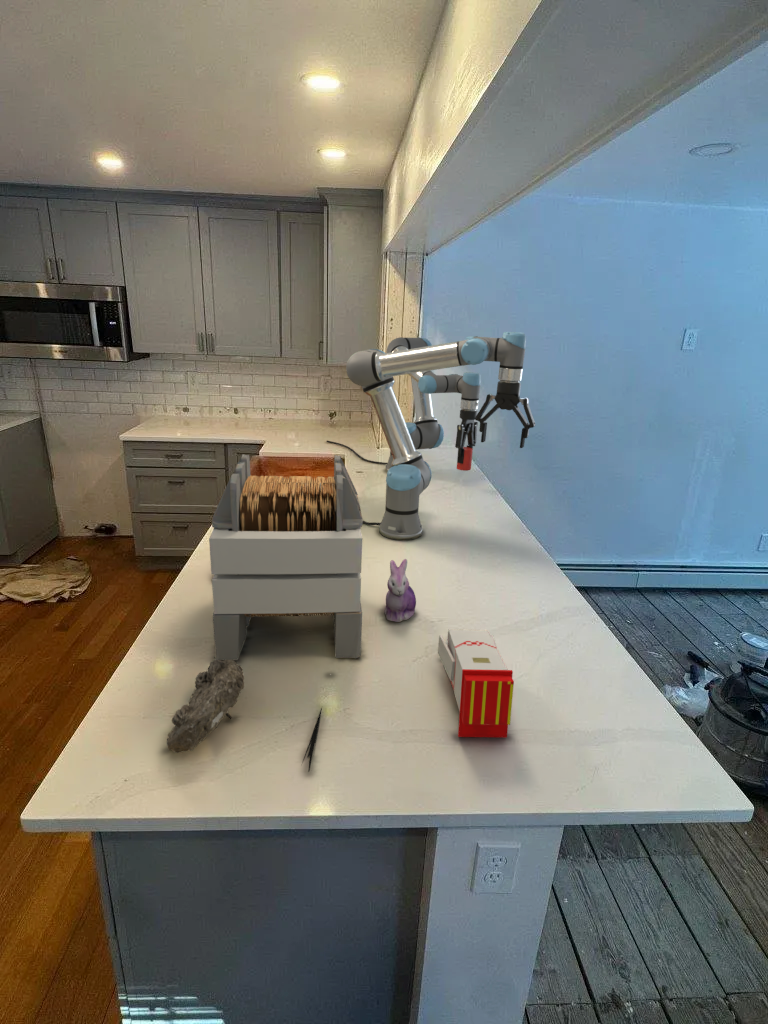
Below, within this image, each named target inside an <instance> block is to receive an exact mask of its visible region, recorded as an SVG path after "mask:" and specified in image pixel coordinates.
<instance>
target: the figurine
mask: <svg viewBox="0 0 768 1024" xmlns="http://www.w3.org/2000/svg"><path fill="white" fill-rule="evenodd" d="M407 567H408V559H406V558H404V559H403V560H402V561H401V563H400V565H399V566H398V565H397V563H396V562H395V561H394V560H393V559H391V560H390V561H389V570H390V576H389V578H388V579H387V589H388V591H387V592H386V594H385V595H386V596H385V607H384V615H385V616H386V620H387V621H391V622H395V623H400V622H402V621H406V620H409V619H410V618H411V617H413V616H414V615H415V610H416V606H417V597H416V593H415V591H414V590H413V587H411V586H410V582H409V579H408V577H407V574H406V571H407Z"/></svg>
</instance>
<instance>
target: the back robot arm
mask: <svg viewBox="0 0 768 1024" xmlns="http://www.w3.org/2000/svg"><path fill="white" fill-rule="evenodd" d="M427 346H433V344H432V342H431V341H430V340H429V339H428V338H425V337H420V336H419V337H396V338H394V339H392V340H391V341H390V342H389V343H388V345H387V347H386V353H390V352H396V351H403V350H409V349H415V348H421V347H427ZM407 375H408V376H410V382H411V389H412V397H413V404H414V412H415V420H414V421H413V422H411V421H410V422H409V421H408V422H406V421H405V423H406V426H407V429H408V431H409V434H410V437H411V439H412V442H413V445H414V448H415V450H416V451H418V450H427V449H428V450H431V449H436V448H438V447H440V446H441V445H442V443H443V441H444V437H445V431H444V427H443V426H442V424H440V423H438V419H437V418H436V417H435V416H434V409H433V408H434V407H433V402H432V394H453V393H456V394H461V397H460V405H459V406H460V410H459V419H461V421H460V424H456V425H457V426H456V438H455V444H454V445H455V448H456V449H457V458H456V464H457V463H462V464H463V460H464V449H463V448H464V447H465V444H466V440H467V445H466V447H469V448H472V449H473V450H474V447H476V444H477V437H478V434H477V433H478V424H479V421H476V420H475V417H476V416H477V414H478V413H479V411H478V409H479V404H480V401H479V400H480V393H481V383H482V382H481V378H482V376H481V374H480V373H479V372H471V371H468V372H463V375H460V374H457V373H450V374H447V375H446V374H436V373H434V372H433V370H431V371H424V372H418V373H411V374H407ZM326 443H328V444H329V443H330V444H334V445H337V446H341V447H344V448H346V449H348V450H350V451H351V452H352V453H353V454H354V455H356V456H357V457H358V458H360V459H361V460H362V461H364V462H367V463H371V464H378V465H385V472H386V473H387V472H388V470H389V469H390V468H391V467H392V465H391V464H392V461H393V456H392V453H391V451H390V450H389V457H388V459H387V462H383V461H376V460H375V461H374V460H370V459H366V458H364V457H363V456H361V455H360V454H358V452H356V451H355V450H354V449H353V448H351V447H350V446H348V445H345V444H343V443H339V442H336V441H331V440H326Z"/></svg>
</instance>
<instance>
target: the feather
mask: <svg viewBox="0 0 768 1024" xmlns="http://www.w3.org/2000/svg"><path fill="white" fill-rule="evenodd" d="M329 675H330V676H331V675H332V674H331V673H330V674H329ZM322 710H323V707H321V708H320V710H319V713H318V716H317V719H316V723H315V725H314V728H313V731H312V733H311V737H310V739H309V742H308V745H307V748H306V751H305V754H304V757H303V760H302V763H301V767H302V765H303V763H304V761H305V758H308V759H309V760H308V762H307V763H308V764H307V766H308V771H310V770H311V766H312V765H311V764H312V760H313V757H315V756H314V755H315V751H316V749H315V746H317V739H318V733H319V729H320V722H321V717H322V712H323V711H322ZM313 754H314V755H313ZM306 755H307V757H306Z"/></svg>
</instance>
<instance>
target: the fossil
mask: <svg viewBox="0 0 768 1024" xmlns="http://www.w3.org/2000/svg"><path fill="white" fill-rule="evenodd" d="M243 670H244V669H243V667H242V665H240V664H237V662H236V660H232V659H231V660H228V659H227V660H221V661H217V660H215V659H212V660H211V661H210V663H209V665H208V666H207V671H201V672H199V673H198V674H197V675H196V676H195V680H194V684H195V685H194V687H195V689H194V690H193V693H192V694H191V697H190V698H189V700H188V704H184V705H182V706H181V707H180V709H177V710H176V711H175V713H174V715H173V716H172V718H171V723H172V724H173V727H172V730H171V731H170V732H168V734H167V738H166V741H167V742H166V745H167V749H168V750H169V751H173V752H174V753H176V754H178V753H182V752H188V751H189V752H192V751H193V750H195V748H196V747H197V746H199V744H200V743H201V742H203V741H204V740H205V739H206V738H207V737H208V736H209V735H210V734H211V733H212V732H214V730H215V729H217V727H218V726H219V724H220V722H221V721H222V720H223V719H224V718H225V716H226V717H227V719H229V720H233V717H232V715H230V714H229V710H230V709H231V708H234V706H235V704H236V703H237V702H238V699H239V697H240V695H241V693H242V691H243V690H245V689H244V688H245V675H244V671H243Z"/></svg>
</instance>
